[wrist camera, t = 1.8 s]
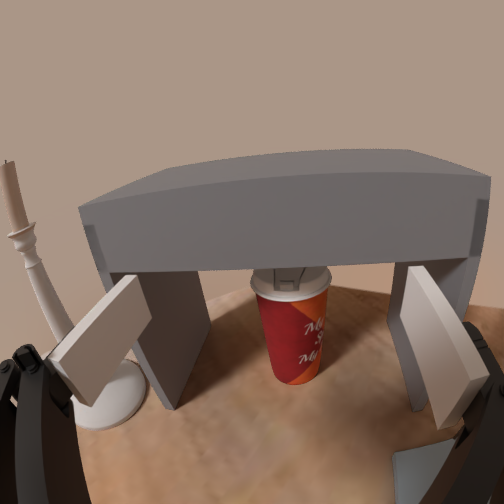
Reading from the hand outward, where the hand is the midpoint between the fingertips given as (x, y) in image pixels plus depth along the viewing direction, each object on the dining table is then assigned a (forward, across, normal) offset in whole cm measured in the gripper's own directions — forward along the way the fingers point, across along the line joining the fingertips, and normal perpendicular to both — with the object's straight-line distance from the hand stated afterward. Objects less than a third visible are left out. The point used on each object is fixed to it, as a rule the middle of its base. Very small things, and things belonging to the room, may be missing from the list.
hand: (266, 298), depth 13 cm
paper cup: (+13, 0, -19) cm, 23 cm away
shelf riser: (+13, 0, -19) cm, 23 cm away
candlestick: (+5, -24, -19) cm, 31 cm away
